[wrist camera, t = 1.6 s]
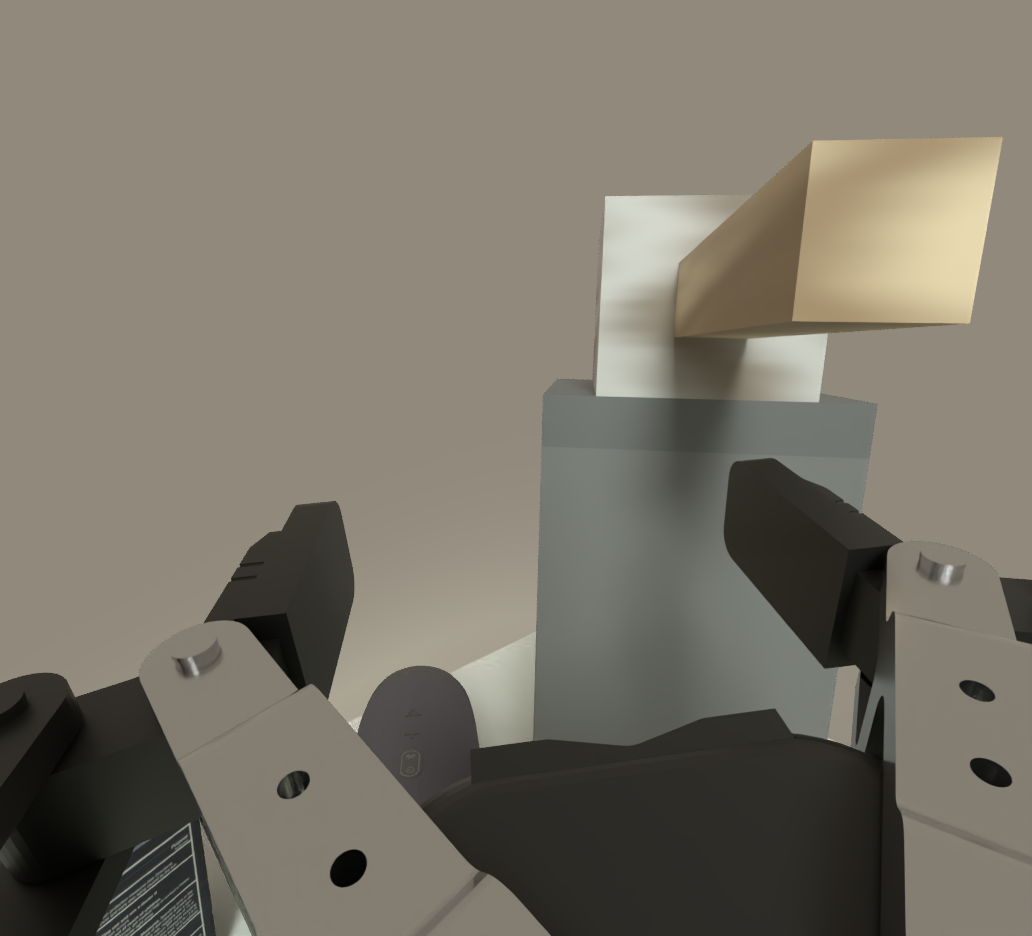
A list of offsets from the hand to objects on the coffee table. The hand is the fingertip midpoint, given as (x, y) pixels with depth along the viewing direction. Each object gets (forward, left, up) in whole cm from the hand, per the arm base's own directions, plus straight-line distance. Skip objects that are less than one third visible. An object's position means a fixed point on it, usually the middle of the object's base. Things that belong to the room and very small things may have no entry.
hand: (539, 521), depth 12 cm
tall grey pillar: (+5, +17, -30) cm, 35 cm away
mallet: (+5, +9, +2) cm, 10 cm away
